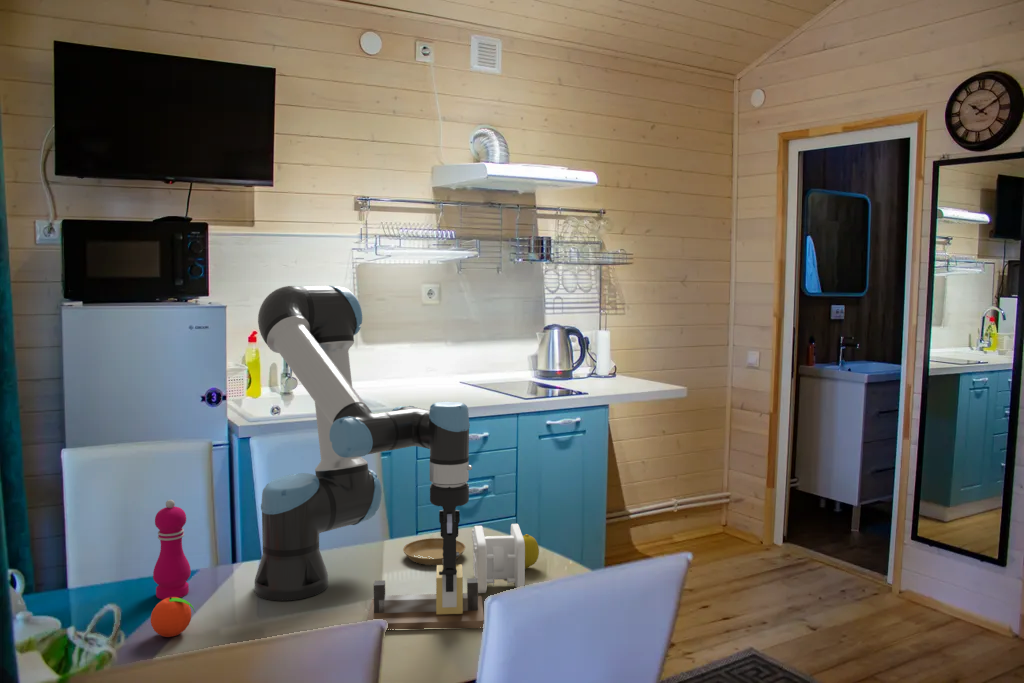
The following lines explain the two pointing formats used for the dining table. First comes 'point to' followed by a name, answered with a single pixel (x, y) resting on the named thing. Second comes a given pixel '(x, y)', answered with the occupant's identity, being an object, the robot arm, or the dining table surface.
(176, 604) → the clementine
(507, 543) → the cable organizer
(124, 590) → the dining table surface
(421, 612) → the rail board
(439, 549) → the plant saucer
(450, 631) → the dining table surface
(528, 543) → the lemon
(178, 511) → the pepper mill
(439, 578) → the slider
